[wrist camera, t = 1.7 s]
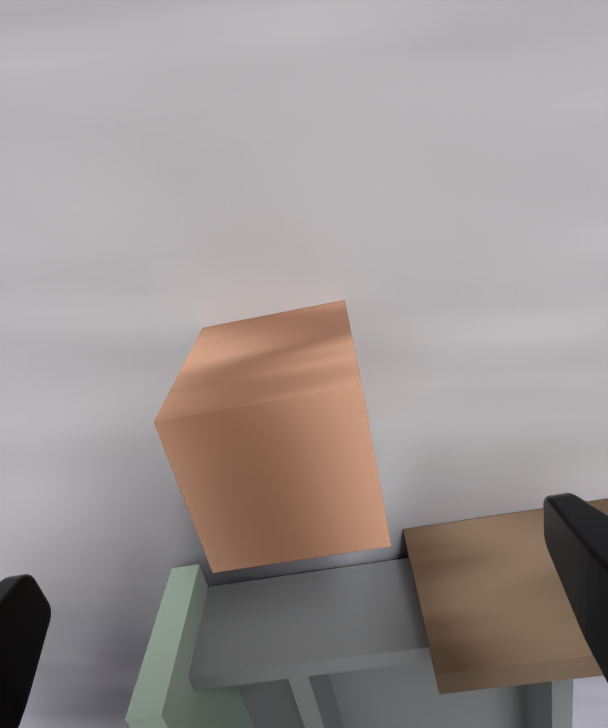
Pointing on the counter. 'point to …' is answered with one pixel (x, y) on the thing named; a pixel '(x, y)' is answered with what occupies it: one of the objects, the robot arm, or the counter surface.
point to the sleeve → (495, 604)
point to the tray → (313, 659)
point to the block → (275, 441)
